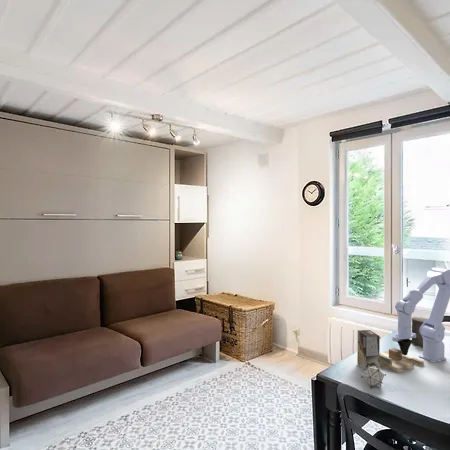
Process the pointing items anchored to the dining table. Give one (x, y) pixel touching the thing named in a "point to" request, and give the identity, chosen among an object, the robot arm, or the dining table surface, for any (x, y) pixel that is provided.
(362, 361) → the coffee box
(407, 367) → the trap deck
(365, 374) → the game die
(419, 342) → the dark brown upright box
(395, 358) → the walnut block
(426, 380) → the dining table surface
